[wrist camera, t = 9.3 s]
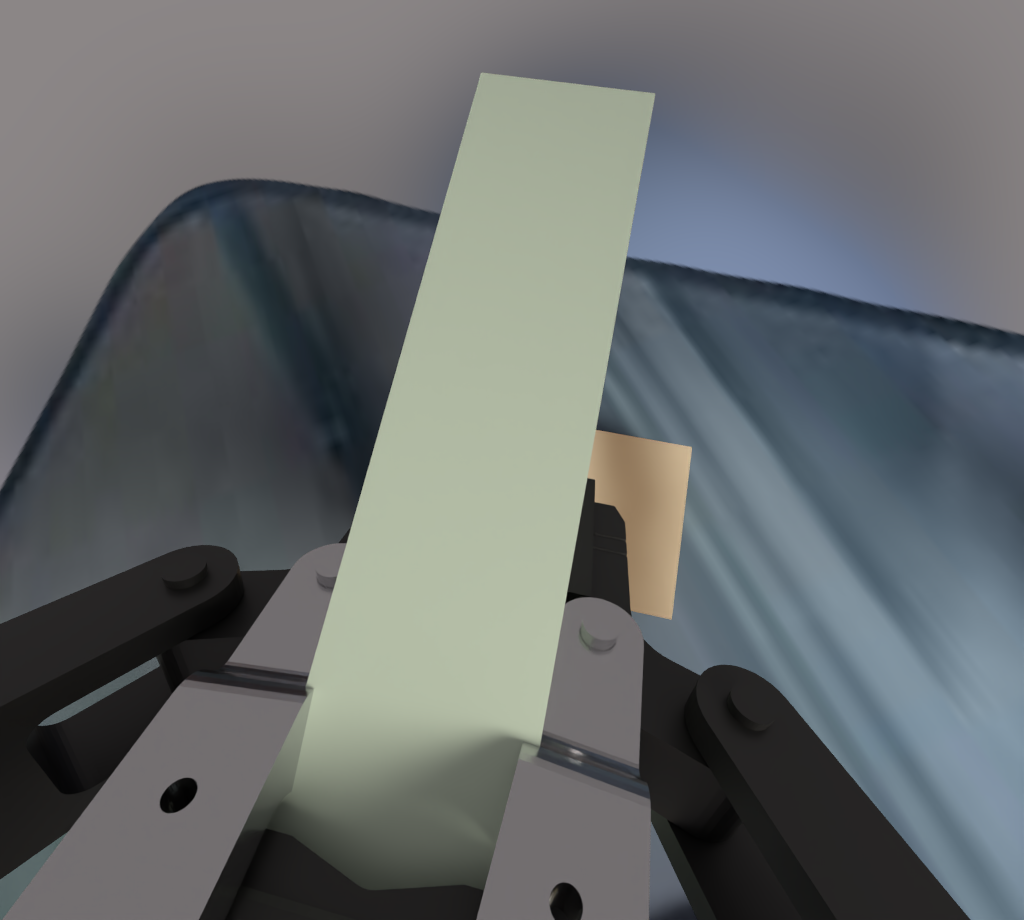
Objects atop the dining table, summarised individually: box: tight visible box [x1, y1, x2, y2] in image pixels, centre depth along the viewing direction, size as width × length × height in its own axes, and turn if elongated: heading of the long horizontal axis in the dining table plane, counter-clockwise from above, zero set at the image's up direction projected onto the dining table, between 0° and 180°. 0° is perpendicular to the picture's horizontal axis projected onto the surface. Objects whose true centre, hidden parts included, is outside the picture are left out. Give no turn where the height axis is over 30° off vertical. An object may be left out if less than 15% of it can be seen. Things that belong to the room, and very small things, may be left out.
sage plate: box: [266, 73, 655, 890], centre depth 10 cm, size 2×12×10 cm, turn 168°
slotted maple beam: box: [587, 430, 692, 620], centre depth 24 cm, size 14×8×4 cm, turn 78°
